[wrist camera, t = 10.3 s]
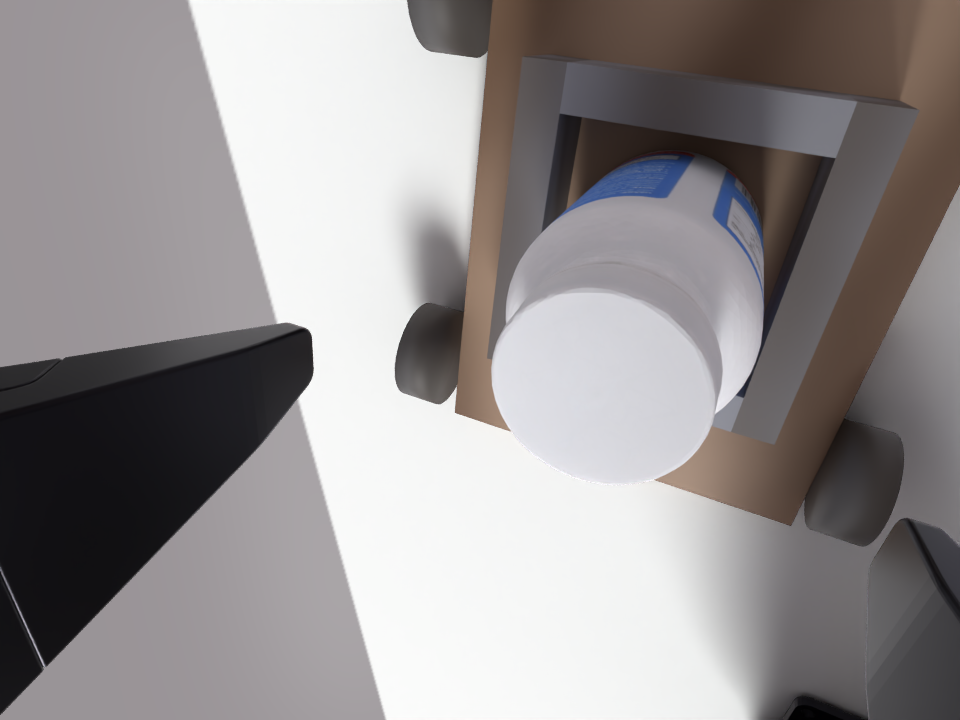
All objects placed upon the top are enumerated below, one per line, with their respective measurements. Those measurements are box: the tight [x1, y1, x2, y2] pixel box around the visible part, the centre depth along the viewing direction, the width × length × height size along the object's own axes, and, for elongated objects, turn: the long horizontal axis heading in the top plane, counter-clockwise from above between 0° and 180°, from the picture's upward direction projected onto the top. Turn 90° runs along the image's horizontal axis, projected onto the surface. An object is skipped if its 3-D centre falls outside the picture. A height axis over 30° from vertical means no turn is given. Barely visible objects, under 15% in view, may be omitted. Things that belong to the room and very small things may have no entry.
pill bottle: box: [491, 150, 764, 485], centre depth 14 cm, size 6×5×10 cm
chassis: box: [395, 0, 960, 546], centre depth 18 cm, size 16×18×4 cm
